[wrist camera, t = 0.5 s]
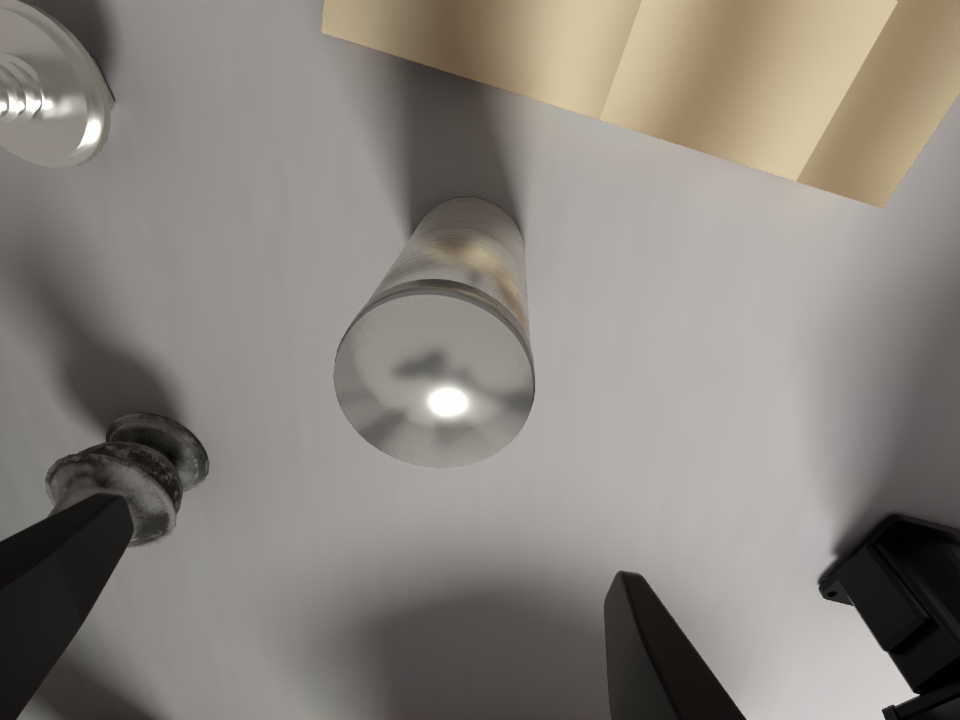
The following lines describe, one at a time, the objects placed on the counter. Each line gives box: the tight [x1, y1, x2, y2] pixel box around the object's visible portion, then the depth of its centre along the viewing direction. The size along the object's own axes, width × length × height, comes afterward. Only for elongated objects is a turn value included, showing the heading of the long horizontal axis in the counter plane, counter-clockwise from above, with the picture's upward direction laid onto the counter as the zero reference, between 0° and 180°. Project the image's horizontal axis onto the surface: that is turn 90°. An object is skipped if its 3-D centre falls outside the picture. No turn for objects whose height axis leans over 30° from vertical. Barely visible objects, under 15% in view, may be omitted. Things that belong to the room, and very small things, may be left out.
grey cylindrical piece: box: [334, 197, 535, 468], centre depth 16 cm, size 5×5×10 cm
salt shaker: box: [45, 413, 209, 547], centre depth 21 cm, size 6×6×12 cm
